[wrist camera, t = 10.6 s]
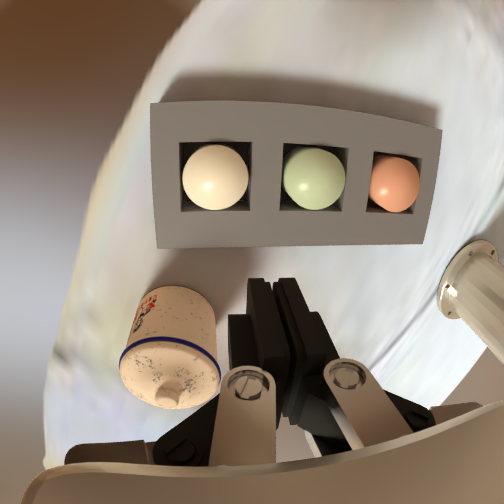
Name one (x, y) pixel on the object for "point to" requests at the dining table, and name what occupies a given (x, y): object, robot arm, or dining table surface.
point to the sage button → (312, 177)
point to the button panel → (270, 171)
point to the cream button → (215, 176)
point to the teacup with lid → (172, 350)
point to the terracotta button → (393, 182)
